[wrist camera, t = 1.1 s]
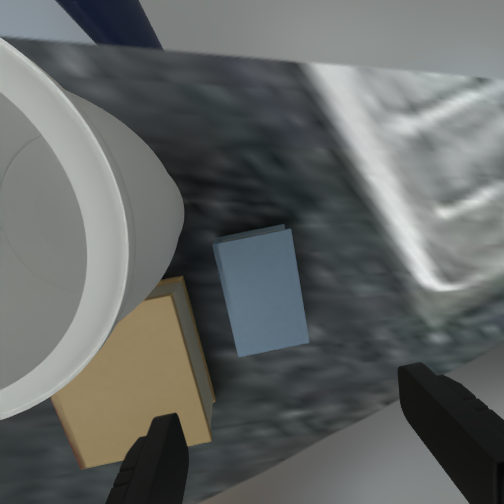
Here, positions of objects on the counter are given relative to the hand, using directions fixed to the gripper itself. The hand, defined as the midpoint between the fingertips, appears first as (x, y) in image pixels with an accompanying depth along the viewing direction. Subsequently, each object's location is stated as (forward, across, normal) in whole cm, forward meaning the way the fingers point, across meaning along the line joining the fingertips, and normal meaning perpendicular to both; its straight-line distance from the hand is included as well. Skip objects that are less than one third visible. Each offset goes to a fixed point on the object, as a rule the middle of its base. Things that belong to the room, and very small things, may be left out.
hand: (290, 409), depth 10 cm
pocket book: (+13, 0, 0) cm, 13 cm away
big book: (+13, +11, +4) cm, 18 cm away
